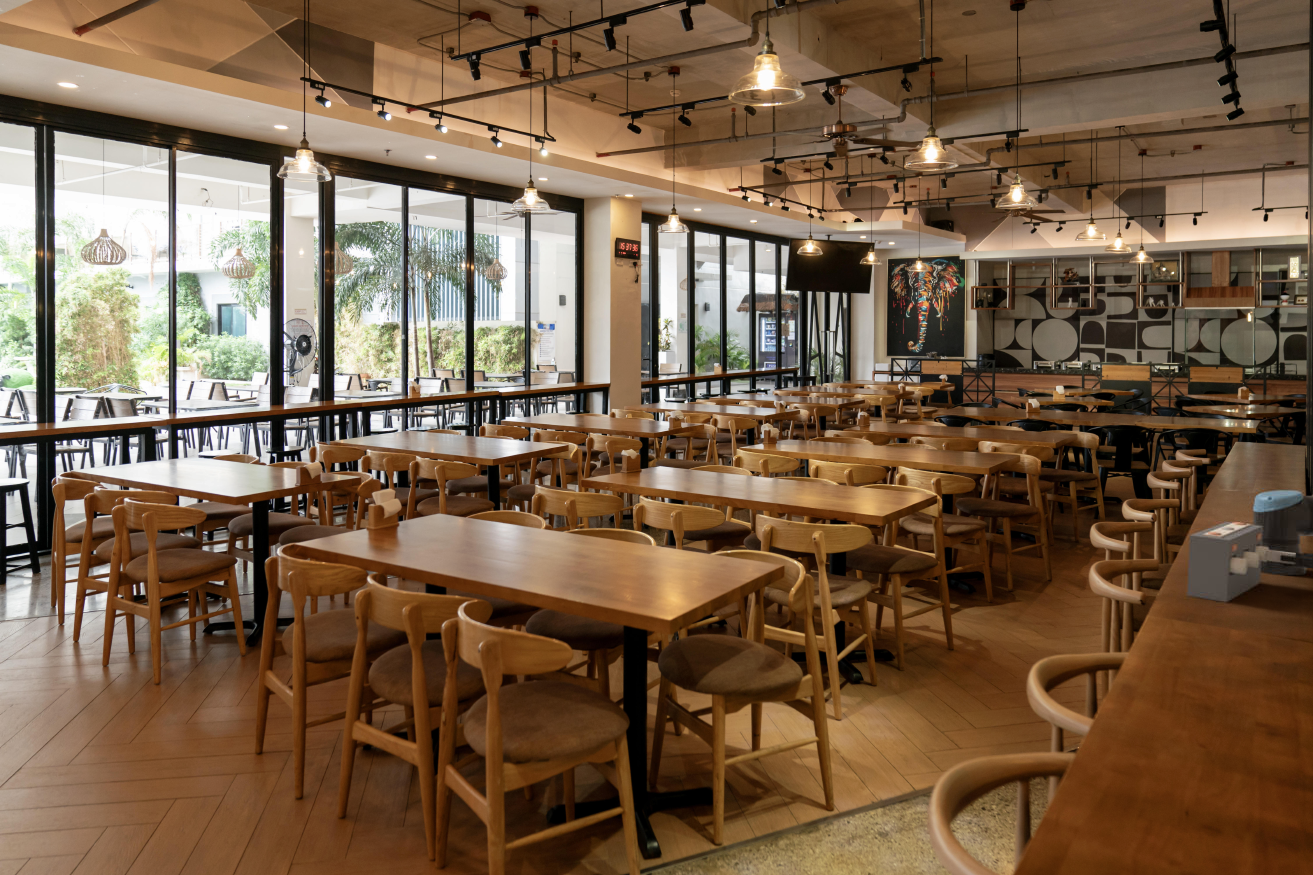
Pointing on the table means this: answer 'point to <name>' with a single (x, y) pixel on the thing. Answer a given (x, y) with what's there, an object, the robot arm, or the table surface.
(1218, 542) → the button panel
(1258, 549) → the button
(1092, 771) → the table surface
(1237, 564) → the button
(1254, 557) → the button middle
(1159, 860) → the table surface
